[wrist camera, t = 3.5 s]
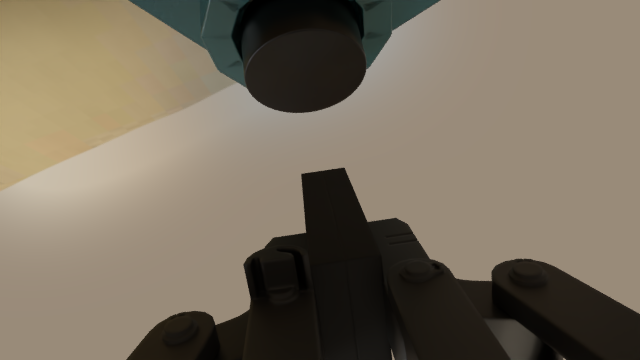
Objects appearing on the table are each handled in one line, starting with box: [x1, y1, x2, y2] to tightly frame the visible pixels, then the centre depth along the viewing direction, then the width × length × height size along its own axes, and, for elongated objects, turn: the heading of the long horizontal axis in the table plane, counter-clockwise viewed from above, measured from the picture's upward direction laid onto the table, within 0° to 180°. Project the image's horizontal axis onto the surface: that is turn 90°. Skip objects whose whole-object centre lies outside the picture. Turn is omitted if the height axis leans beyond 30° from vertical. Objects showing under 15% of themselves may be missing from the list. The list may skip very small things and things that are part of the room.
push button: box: [240, 0, 367, 113], centre depth 18 cm, size 5×5×2 cm
